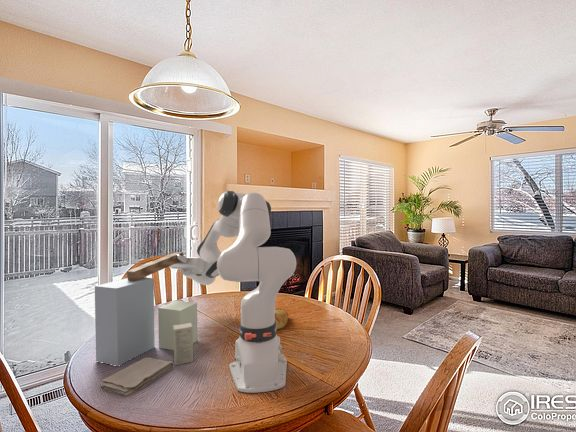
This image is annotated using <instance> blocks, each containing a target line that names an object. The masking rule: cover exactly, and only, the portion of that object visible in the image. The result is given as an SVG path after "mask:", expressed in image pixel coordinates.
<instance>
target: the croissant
mask: <svg viewBox="0 0 576 432" xmlns="http://www.w3.org/2000/svg"><path fill="white" fill-rule="evenodd" d="M288 319H289V313H288V311H285V310H283V309H282V308H281V309H279V308H278V309H276V308H275V321H276V327H277V329H276V331H278V330H279V329H283V328H285V327H286V325H287V323H288Z"/></svg>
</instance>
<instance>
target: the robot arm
mask: <svg viewBox="0 0 576 432" xmlns="http://www.w3.org/2000/svg"><path fill="white" fill-rule="evenodd" d="M217 210H218V213H219V214H220V217H219V218H218V219H216V220H215V221H214V222H213V224H212V225H211V227H210V228H209V230H208V232H207V233H206V236H205V237H204V239H203V240H202V241H201V242H200V244H199V245H198V246H197V249H196V253H197V255H198V256H199V257H188V256H184V255H183V256H181V255H177V257H176V259H177V260H180V262H178V263H176V264H174V265H171V266H169V267H168V268H170V269H173V270H180V272H181V274H182V275H183V276H185V277H186V278H188V279H190V280H193V281H194V282H195V283H197V284H200V285H202V286H209V285H211V284H213V283H214V282H215V280H216V278H217V277H220V278H221V279H222V280H223V281H229V282H236V283H242V282H259V285H258V286H257V287H256V288H255V289H253V290H251V291H249V292H248V293H246V294H245V295H244V296H243V297H242V299H241V301H240V323H239V328H238V329H239V330H238V331H239V337H238V338H237V339H236V340H235V346H234V347H235V351H234V352H235V353H234V354H235V357H234V361H232V362H231V363H229V366H228V369H229V371H230V374H231V376H232V379H233V382H234V385H235V387H236V390H237V391H238V392H241V393H247V394H248V393H249V394H250V393H251V394H253V393H266V392H271V391H276V390H279V389H281V388H284V387H286V382H287V381H286V380H287V368H288V367H287V366H288V365H287V364H288V363H287V361H288V360H287V358H285V354H284V353H281V351H282V350H283V345H282V344H281V337H280V336H279V335H277V330H278V329H277V327H276V321H275V310H276V300H277V296H278V293H279V292H280V289H281V287H282V286H283V285H284V283H285V282H286V281H287V280H288V279H289V278H291V277H292V276H293V275H294V273H295V271H296V268H297V258H296V255H295V254H294V252H293V251H292V250H291V249H290V248H286V247H280V246H262V245H264V244H265V243H266V242H267V241H268V239H269V238H270V237H271V233H272V231H271V230H272V229H271V221H270V217H271V214H272V206H271V204H270V202H269V201H267V200H266V199H265V198H264V196H263V195H262V194H260V193H258V192H248V193H242V192H236V191H233V190H225V191H224V192H222V193H221V195H220V196H219V199H218V200H217ZM221 236H222V237H224V238H235V237H237V238H236V239H235V241H234V242H233V243H232V244H231V245H230V246H229V247H227V248H226V249H224V250H223V251H222V252H221V251H220V249H219V247H218V240H219V239H220V237H221ZM168 255H169V254H167V255H164V256H163V257H165V256H168ZM276 329H277V330H276Z"/></svg>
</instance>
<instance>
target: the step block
mask: <svg viewBox="0 0 576 432" xmlns="http://www.w3.org/2000/svg"><path fill="white" fill-rule="evenodd" d="M157 309H158V310H157V311H158V312H157V314H158V317H157V319H158V320H157V321H158V324H157V325H158V348H159V349H165V350H169V351H174V338H173V325H178V324H185V323H192V332H193V344H195V343H197V342H198V335H199V334H198V328H199V327H198V302H194V301H193V302H192V301H185V300H184V301H183V300H175V301H171V302H170V303H167V304H164V305H162V306H160V307H157Z"/></svg>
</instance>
